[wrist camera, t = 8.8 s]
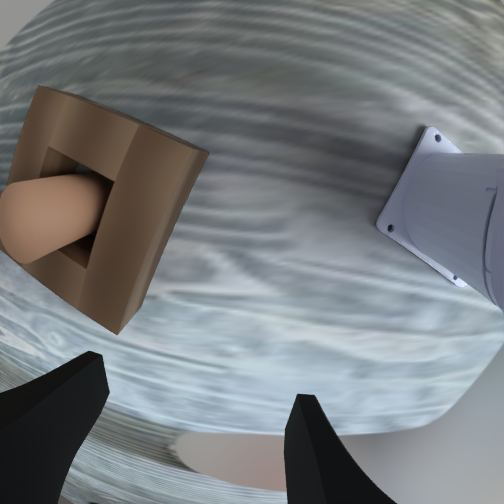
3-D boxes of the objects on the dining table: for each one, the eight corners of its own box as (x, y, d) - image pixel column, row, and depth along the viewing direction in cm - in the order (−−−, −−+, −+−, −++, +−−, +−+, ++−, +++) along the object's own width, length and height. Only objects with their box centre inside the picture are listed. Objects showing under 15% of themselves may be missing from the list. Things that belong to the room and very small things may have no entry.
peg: (132, 207, 18) (55, 236, 11) (94, 238, 19) (20, 277, 11) (103, 159, 17) (20, 165, 10) (69, 193, 18) (-11, 214, 11)
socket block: (209, 152, 17) (192, 149, 13) (140, 307, 20) (117, 335, 16) (72, 93, 16) (38, 85, 12) (29, 233, 19) (-2, 246, 15)
